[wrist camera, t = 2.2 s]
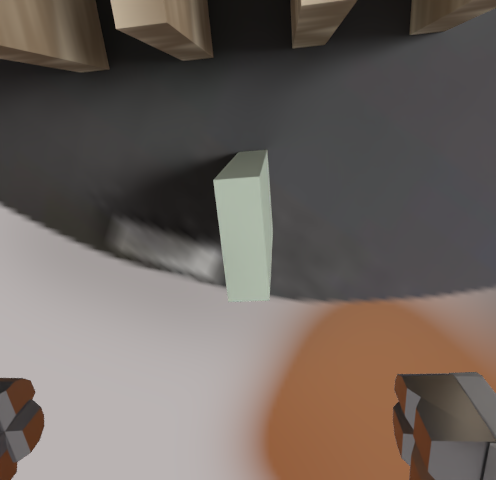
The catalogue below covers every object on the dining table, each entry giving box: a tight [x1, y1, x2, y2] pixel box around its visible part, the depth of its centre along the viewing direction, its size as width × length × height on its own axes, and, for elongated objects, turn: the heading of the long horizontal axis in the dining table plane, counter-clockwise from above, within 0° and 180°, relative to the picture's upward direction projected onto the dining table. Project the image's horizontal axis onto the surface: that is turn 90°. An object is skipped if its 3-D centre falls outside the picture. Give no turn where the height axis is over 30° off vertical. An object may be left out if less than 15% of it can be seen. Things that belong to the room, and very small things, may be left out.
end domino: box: [213, 150, 273, 302], centre depth 21 cm, size 2×6×10 cm, turn 6°
